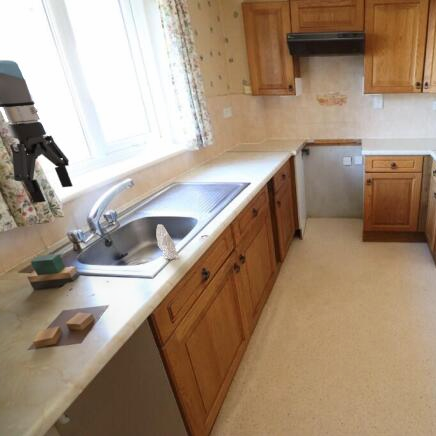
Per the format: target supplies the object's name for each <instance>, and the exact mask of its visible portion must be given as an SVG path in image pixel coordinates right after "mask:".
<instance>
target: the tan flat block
mask: <svg viewBox="0 0 436 436" xmlns="http://www.w3.org/2000/svg"><path fill="white" fill-rule="evenodd" d="M61 334H62V330H61V328H60V326H58V327H54V328H49V329H46V328H45V329H40V330H39V332H38V333H37V335H36V336H35V337H34V339H33V341H32V344H34V345H35V347H36V348H39V347H44V346H48V345H52V344H56V342H57V341H58V339H59V337H60V336H61Z"/></svg>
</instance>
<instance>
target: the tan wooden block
mask: <svg viewBox="0 0 436 436" xmlns="http://www.w3.org/2000/svg"><path fill="white" fill-rule="evenodd" d="M93 320H94V317H93V314H92V313H77V314H76V315H75V316H74V317H73V318H71V319H70V320H69V321H68V322H67V323H66V325H67V327H68V329H70V330H83V329H85V328H86V327H87V326H88V325H89V324H90V323H91V322H92V321H93Z"/></svg>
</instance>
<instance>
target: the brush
mask: <svg viewBox="0 0 436 436" xmlns="http://www.w3.org/2000/svg"><path fill="white" fill-rule="evenodd" d="M30 263H31V266H32V268H33V271H32V272H31V273H29V274H28V275H26V276H27V277H26V278H27V279H28V282H29V284H30V286H31V287H32V289H33V291H37V290H47V289H56V288H62V287H64V286H65V285H66V284H69V283H74V282H75V281H76V280H77V279H78V278H79V277H80V273H79V271H78V269H77V266H75V265H74V266H73V265H72V266H65V264H64V261H63V259H62V257H61V255H60V253H54V254H53V253H51V254H42V255H38V256H37V255H36V257H35V258H33V259H32V260H31V261H30Z"/></svg>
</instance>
